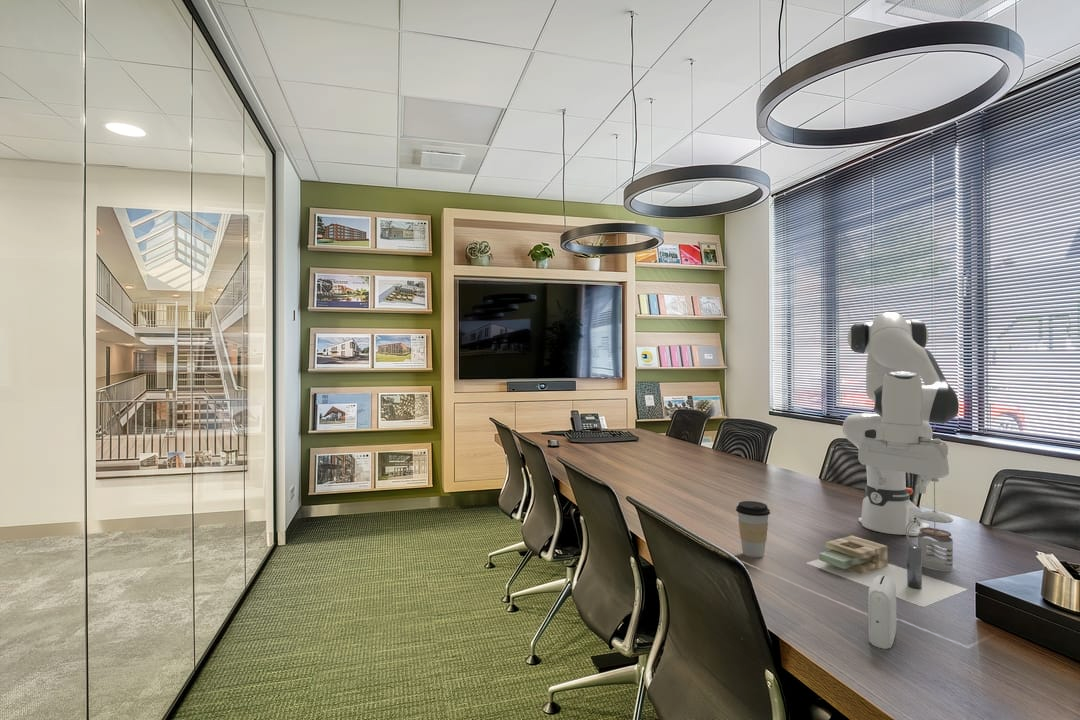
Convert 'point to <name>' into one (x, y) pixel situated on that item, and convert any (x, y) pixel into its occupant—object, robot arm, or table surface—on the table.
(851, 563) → the clevis
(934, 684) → the table surface
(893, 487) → the robot arm
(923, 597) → the mat
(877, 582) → the white rounded slab
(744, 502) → the coffee cup
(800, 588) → the table surface
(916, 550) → the pin
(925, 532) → the french press
